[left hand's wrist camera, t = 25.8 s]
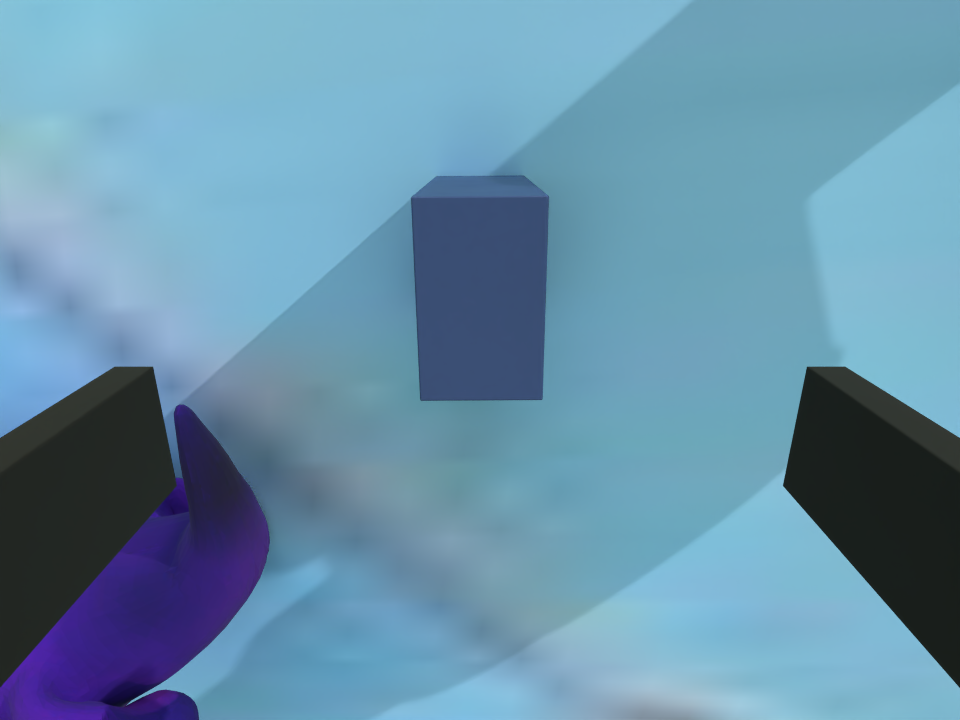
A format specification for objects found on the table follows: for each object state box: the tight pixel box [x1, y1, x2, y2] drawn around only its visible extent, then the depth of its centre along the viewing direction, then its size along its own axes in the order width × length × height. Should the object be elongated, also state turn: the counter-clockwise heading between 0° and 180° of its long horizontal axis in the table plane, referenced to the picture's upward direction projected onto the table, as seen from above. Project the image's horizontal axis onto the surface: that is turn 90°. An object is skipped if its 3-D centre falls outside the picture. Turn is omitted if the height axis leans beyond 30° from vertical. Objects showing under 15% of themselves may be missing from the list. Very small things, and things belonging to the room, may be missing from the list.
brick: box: [411, 176, 549, 401], centre depth 27 cm, size 8×5×12 cm, turn 0°
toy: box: [0, 405, 270, 720], centre depth 30 cm, size 16×18×27 cm
